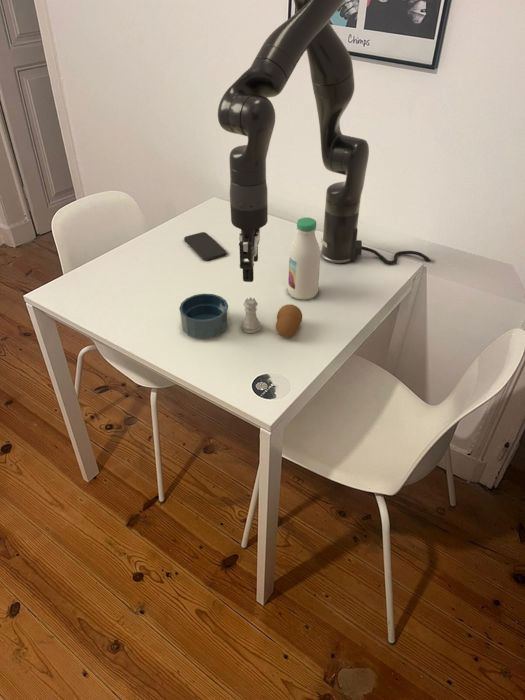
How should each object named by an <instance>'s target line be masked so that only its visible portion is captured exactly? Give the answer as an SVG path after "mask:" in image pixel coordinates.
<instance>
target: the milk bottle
mask: <svg viewBox="0 0 525 700" xmlns="http://www.w3.org/2000/svg"><path fill="white" fill-rule="evenodd" d="M296 231H297V232H296V236H295V238H294V240H293V242H292V244H291V246H290V250H289V259H288V283H287V284H288V285H287V286H288V288H287V290H288V294H289V295H290V296H291V297H292V298H294V299H297V300H310V299H313V298H315V297H316V296H317V294H318V293H319V284H320V283H319V281H320V268H321V247H320V245H319V242H318V240H317V237H316V231H317V221H316V220H315V219H314V218H312V217H301V218H299V219H298V220H297V221H296Z"/></svg>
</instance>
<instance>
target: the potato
mask: <svg viewBox="0 0 525 700" xmlns="http://www.w3.org/2000/svg"><path fill="white" fill-rule="evenodd" d="M302 322H303V312H302V310H301V309H300V307H299V306H297V305H294V304H291V303H290V304H288V303H287V304H285V305H283V306H281V307H280V308H279V310H278V311H277V314H276V322H275V330H276V333H277V334H278V335H279V336H280V337H282V338H285V339H290V338H293V337H294V336H296V335H297V334H298V332H299V329H300V326H301V324H302Z"/></svg>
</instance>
